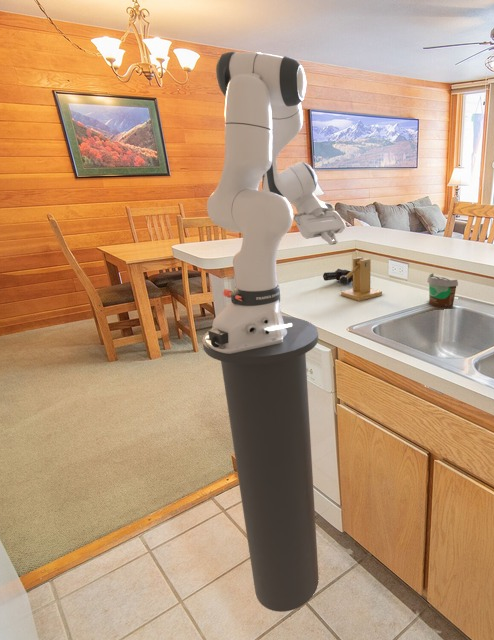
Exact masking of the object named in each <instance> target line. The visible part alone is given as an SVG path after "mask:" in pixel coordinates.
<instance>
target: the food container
mask: <svg viewBox="0 0 494 640" xmlns="http://www.w3.org/2000/svg"><path fill="white" fill-rule="evenodd" d="M426 280H427V283H428V287H429V288H428V289H429V290H428V293H429V295H428V298H429V301H428V302H429V305H431V306H433V307H436V308H443V309H444V308H447V309H448V308H453V307H454V301H455V297H456V290H457V287H458V286H459V282H458V279H449V278H447V277H439V276H435V275H434V272H433V273H430V274H429V275H428V277H427V279H426Z"/></svg>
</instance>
